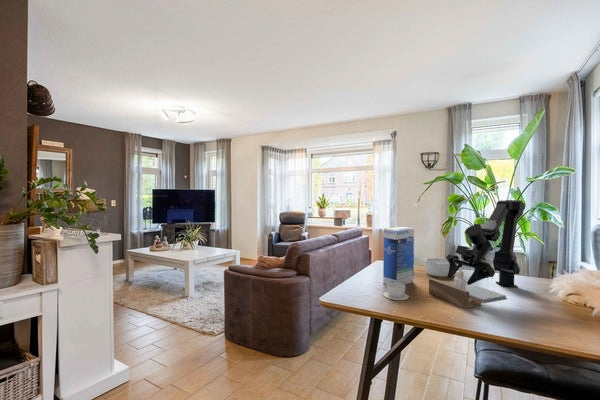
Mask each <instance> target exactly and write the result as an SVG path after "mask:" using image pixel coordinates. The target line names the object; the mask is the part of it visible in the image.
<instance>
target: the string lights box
mask: <svg viewBox="0 0 600 400" xmlns="http://www.w3.org/2000/svg"><path fill="white" fill-rule="evenodd" d="M414 242H415V228H414V227H407V226H397V227H387V228H383V262H382V263H383V266H382V267H383V276H382V277H383V282H382V284H384V285H387V284H388V283H400V284H403V285H405V286H407V285H409V284H412V283H414V282H415V281H414V279H415V277H414V273H415V272H414V261H415V259H414V258H415V257H414V255H415V253H414V252H415V248H414V247H415V245H414V244H415V243H414Z"/></svg>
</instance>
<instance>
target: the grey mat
mask: <svg viewBox="0 0 600 400" xmlns="http://www.w3.org/2000/svg"><path fill="white" fill-rule="evenodd" d="M466 291H469V299H474V298H479V299H481V303H486V302H492V301H496V300H501V299H507V295H505V294H502V293H501V292H500V293H499V292H497V291H493V290H490V289H487V288H484V287H481V286H478V285H474V286H466Z"/></svg>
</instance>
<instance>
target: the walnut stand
mask: <svg viewBox="0 0 600 400" xmlns="http://www.w3.org/2000/svg"><path fill="white" fill-rule="evenodd" d="M428 293H429V294H430V295H433V296H435V297H438V298H440V299H442V300H445V301H448V302H450V303H451V304H454V305H457V306H459V307H462V308H464V309H470V308H477V307H481V306H482V302H481V299H479V298H474V299H473V298H470V297H469V291H466V290H463V289H460V288H457V287H455V286H454V285H451V284H449V283H446V282H442V281H441V280H438V279H435V278H428Z"/></svg>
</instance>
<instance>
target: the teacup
mask: <svg viewBox="0 0 600 400" xmlns="http://www.w3.org/2000/svg"><path fill="white" fill-rule="evenodd" d="M406 286H407V285H403V284H400V283H388V284H386V290H387V291H385V292H383V294H382V296H384V297H385V298H386V299H390V300H395V301H404V300H407V299H409V297H410V296H409V295H408V294H407V293H405V292H406V288H407V287H406Z"/></svg>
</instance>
